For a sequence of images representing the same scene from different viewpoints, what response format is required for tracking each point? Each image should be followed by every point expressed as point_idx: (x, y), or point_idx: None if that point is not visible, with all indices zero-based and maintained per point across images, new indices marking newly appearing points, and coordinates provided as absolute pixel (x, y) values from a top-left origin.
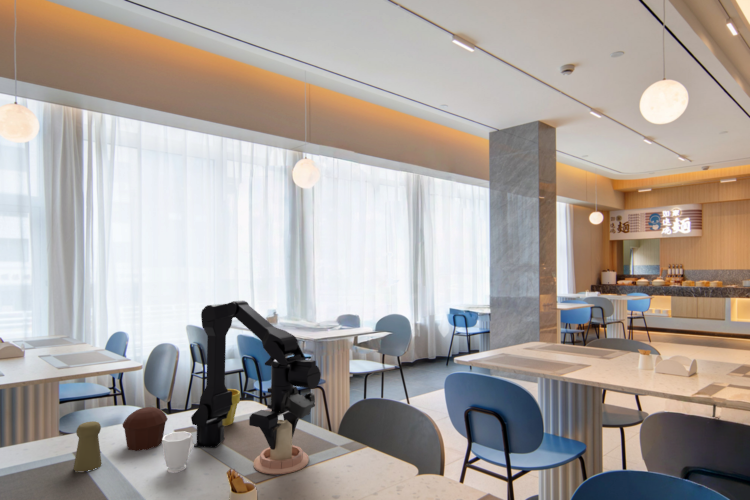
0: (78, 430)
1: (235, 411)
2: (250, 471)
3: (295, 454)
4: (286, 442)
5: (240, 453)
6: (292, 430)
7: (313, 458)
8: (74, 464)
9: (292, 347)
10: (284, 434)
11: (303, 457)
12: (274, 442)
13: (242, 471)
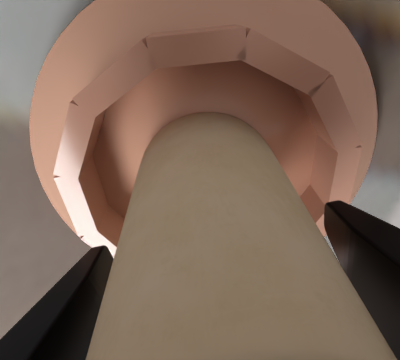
0: None
1: None
2: (373, 193)
3: (97, 166)
4: (249, 185)
5: None
6: (62, 318)
7: (9, 46)
8: None
9: None
10: (307, 267)
11: (80, 89)
12: (398, 233)
13: (387, 217)
